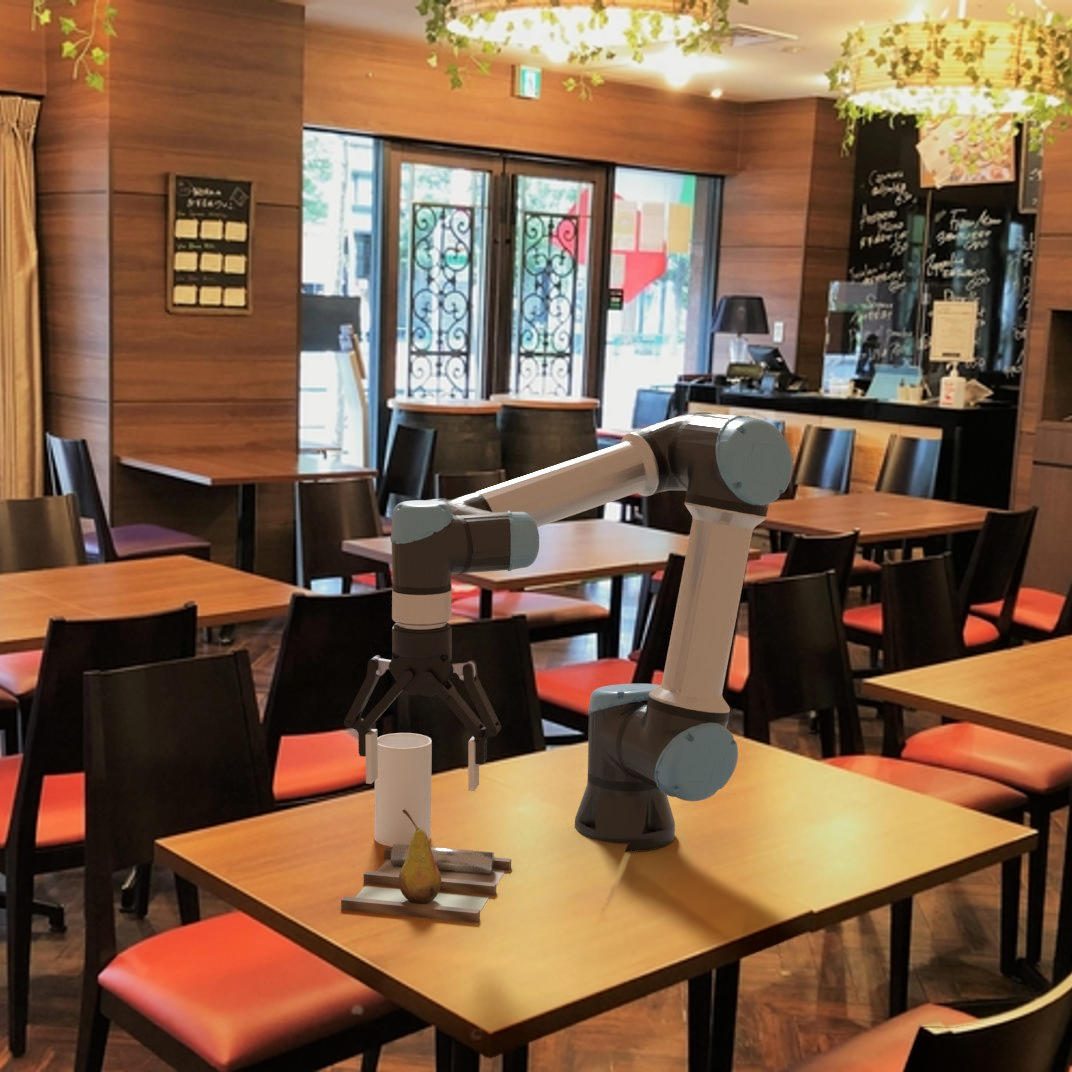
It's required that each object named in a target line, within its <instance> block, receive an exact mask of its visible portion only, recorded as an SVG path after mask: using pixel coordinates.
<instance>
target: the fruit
mask: <svg viewBox="0 0 1072 1072" xmlns="http://www.w3.org/2000/svg"><path fill="white" fill-rule="evenodd" d="M403 812H404V813H405V814H406V815H407V816H408V818H409V819H410V820H411V821H412V823H413V825H414V826H415V828H416V831H415V832H414V835H413V838H412V841H411V845H410V850H409V854H408V856H407V859H406V861H405V863H404V865H403V867H402V869H401V871H400V874H399V886H398V887H399V889H400V890H401V892H402V894H403V895H404V897H405V898H406V899H407V900H409V901H410V902H413V903H416V904H426V903H429V902H431V901H432V900H434V898H435V897H436V896H437V894H438V893H439V892H440V891H441V890H440V887H441V875H440V872H439V870H438V868H437V866H436V864H435V860H434V858H433V854H432V851H431V847H432V846H431V842H430V840H429V839H428V837H427V834H426V833H425V831H424V830H423V829H420V828H418V827H417V826H416V824H415V823H414V821H413V820H412V818H411V816H410V815H409V814H408V812H407V811H406V810H403Z"/></svg>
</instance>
